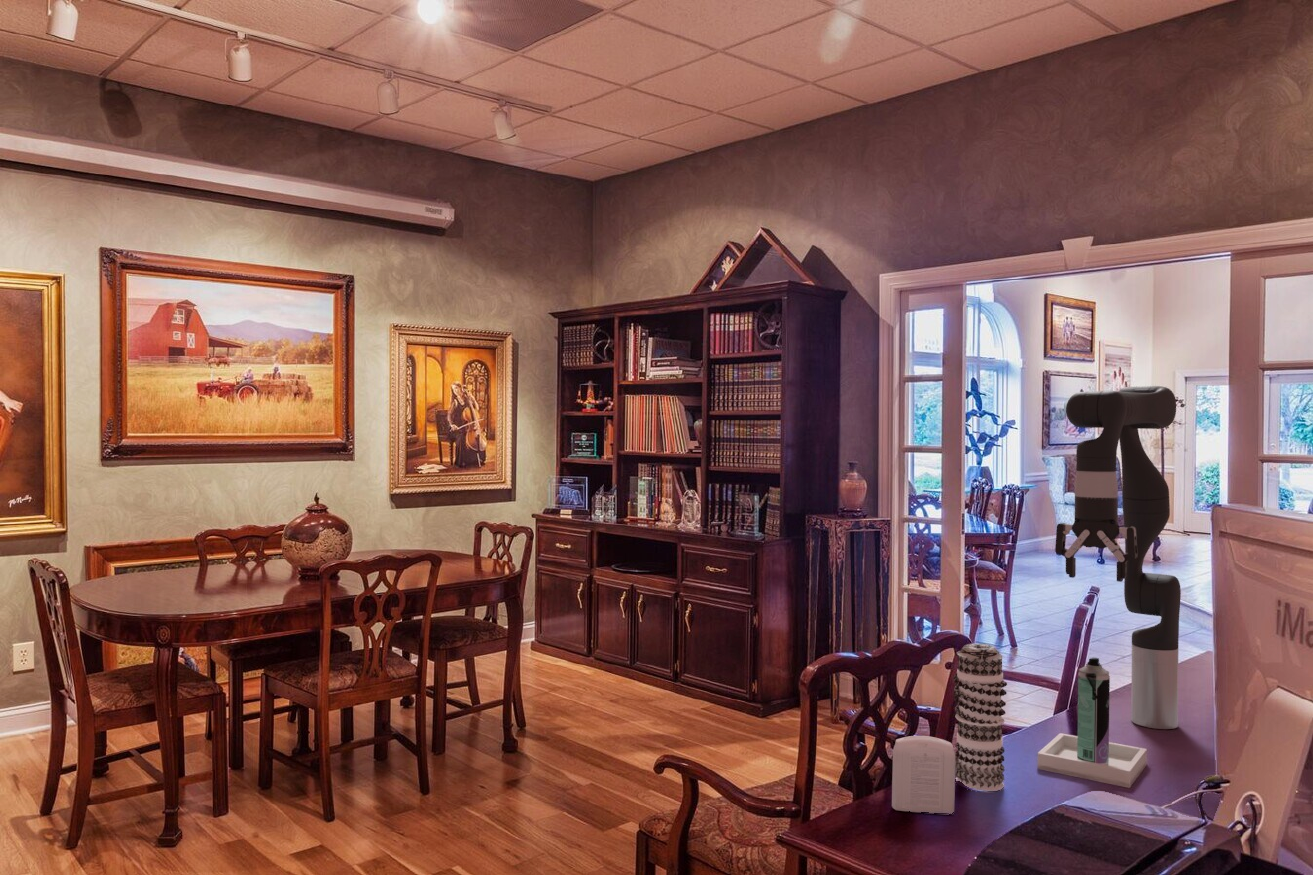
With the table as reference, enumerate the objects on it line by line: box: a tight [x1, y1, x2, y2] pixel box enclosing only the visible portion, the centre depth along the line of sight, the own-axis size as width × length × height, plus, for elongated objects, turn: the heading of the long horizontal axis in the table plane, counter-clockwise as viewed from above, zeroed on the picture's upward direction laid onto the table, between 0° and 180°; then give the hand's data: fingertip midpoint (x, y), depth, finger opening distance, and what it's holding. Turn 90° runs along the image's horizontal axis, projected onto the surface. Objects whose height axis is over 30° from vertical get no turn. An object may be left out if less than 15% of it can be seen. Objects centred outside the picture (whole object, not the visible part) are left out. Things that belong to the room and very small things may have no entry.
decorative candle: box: [952, 643, 1008, 791], centre depth 172 cm, size 9×9×25 cm
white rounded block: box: [891, 735, 956, 815], centre depth 160 cm, size 10×4×12 cm, turn 81°
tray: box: [1036, 732, 1148, 789], centre depth 182 cm, size 16×16×3 cm
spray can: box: [1077, 657, 1111, 765], centre depth 182 cm, size 6×6×20 cm
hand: (1095, 579), depth 182 cm, fingers open, 8 cm apart
